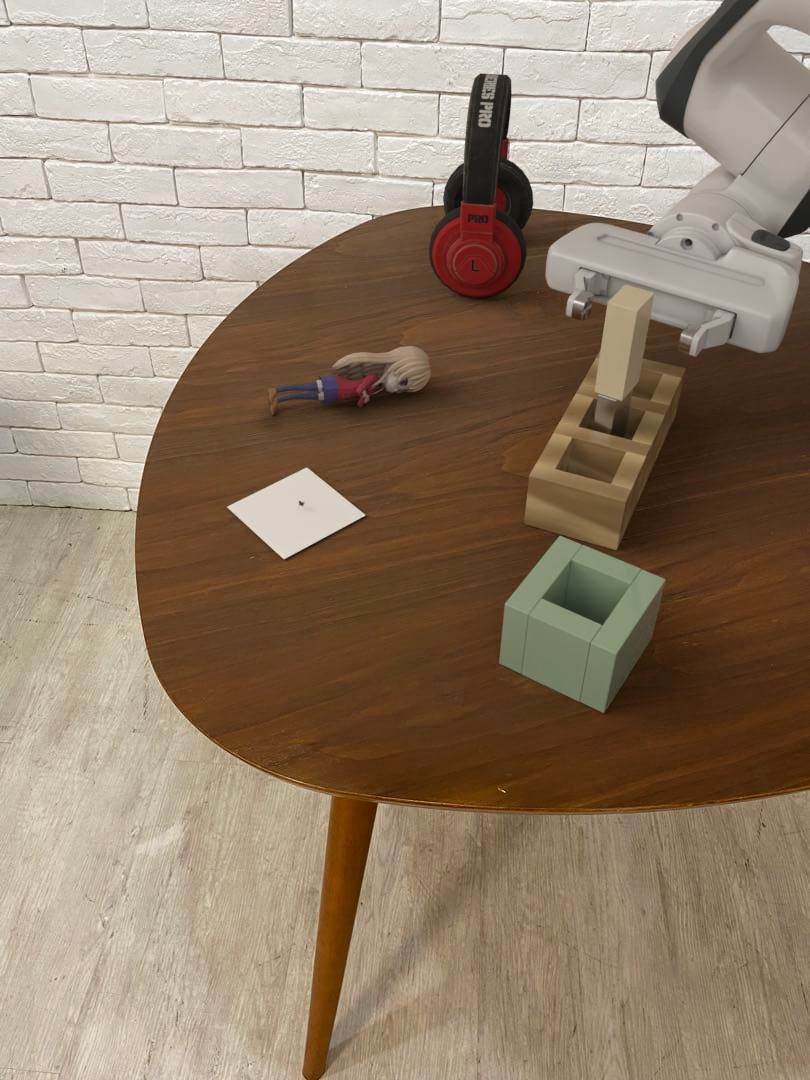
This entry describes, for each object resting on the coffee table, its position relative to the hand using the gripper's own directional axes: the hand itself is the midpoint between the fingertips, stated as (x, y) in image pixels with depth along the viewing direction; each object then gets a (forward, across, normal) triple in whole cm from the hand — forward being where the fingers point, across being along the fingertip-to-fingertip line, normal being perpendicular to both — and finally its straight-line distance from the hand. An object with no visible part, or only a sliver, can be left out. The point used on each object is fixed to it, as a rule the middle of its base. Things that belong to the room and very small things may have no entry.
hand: (629, 328), depth 81 cm
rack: (+1, 0, +13) cm, 13 cm away
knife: (+1, 0, +13) cm, 13 cm away
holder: (+21, +7, +13) cm, 26 cm away
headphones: (-23, -26, +13) cm, 37 cm away
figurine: (+5, -24, +13) cm, 27 cm away
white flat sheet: (+20, -18, +13) cm, 30 cm away
